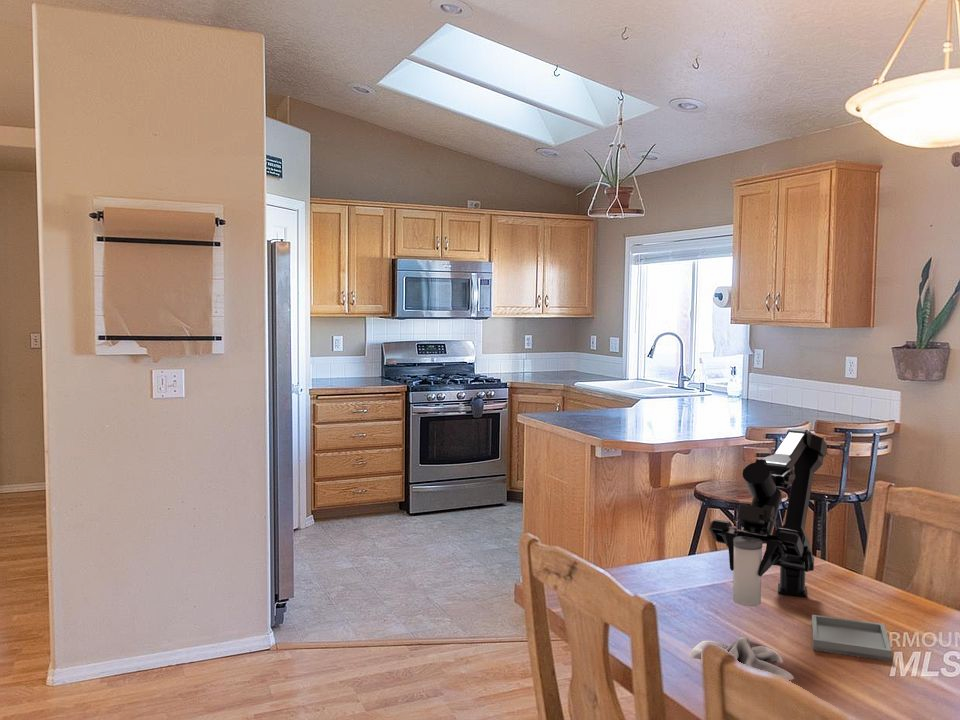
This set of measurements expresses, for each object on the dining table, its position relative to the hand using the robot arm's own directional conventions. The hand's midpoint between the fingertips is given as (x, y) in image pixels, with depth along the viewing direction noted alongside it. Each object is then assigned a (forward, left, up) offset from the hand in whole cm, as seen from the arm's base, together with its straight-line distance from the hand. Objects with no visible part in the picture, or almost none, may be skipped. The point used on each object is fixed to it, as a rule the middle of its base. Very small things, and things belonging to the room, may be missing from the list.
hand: (745, 572), depth 163 cm
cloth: (+16, 0, -14) cm, 21 cm away
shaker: (-1, 0, -7) cm, 7 cm away
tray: (-4, +20, -13) cm, 25 cm away
